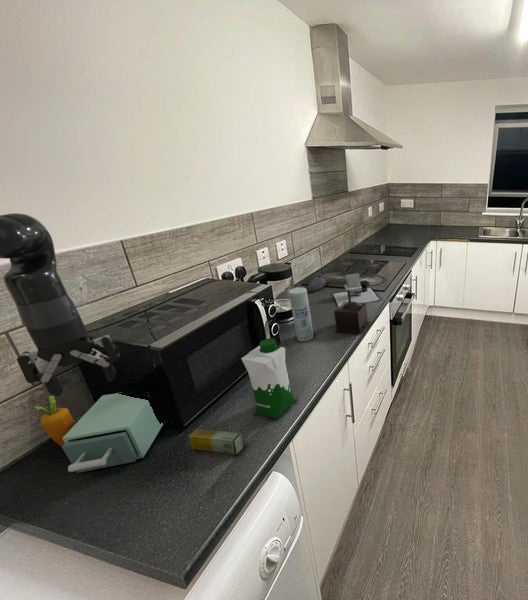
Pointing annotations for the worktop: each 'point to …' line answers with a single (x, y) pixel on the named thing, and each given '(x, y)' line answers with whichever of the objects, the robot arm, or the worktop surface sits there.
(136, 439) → the green drawer housing
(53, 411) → the carrot
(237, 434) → the medication box
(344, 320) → the manual coffee grinder
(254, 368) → the milk carton
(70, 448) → the green drawer
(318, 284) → the perforated stone tool
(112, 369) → the robot arm
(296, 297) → the spray can
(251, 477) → the worktop surface
